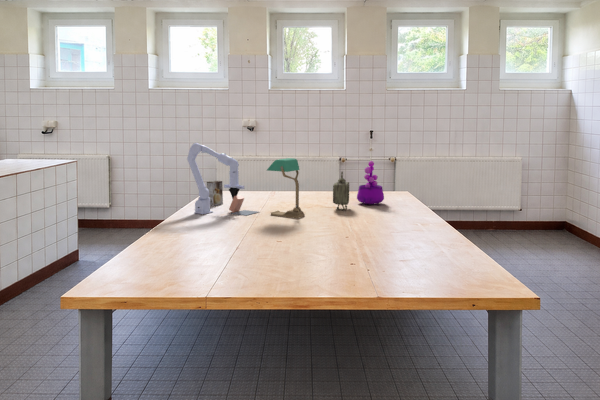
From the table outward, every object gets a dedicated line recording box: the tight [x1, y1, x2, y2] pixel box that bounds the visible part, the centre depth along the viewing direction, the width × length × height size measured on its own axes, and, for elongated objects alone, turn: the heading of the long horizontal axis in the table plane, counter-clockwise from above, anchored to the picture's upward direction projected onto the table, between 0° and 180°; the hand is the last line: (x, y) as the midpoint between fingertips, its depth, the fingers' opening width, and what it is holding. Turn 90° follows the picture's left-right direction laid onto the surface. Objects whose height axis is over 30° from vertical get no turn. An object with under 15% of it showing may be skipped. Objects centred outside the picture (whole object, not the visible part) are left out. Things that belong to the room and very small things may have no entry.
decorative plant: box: [356, 160, 385, 205], centre depth 393 cm, size 19×18×30 cm
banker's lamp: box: [266, 157, 306, 219], centre depth 347 cm, size 16×21×35 cm
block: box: [228, 194, 245, 213], centre depth 361 cm, size 6×4×10 cm, turn 150°
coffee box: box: [206, 180, 224, 207], centre depth 389 cm, size 9×6×16 cm
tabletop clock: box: [332, 170, 350, 211], centre depth 372 cm, size 14×9×25 cm, turn 168°
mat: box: [230, 209, 260, 217], centre depth 358 cm, size 14×12×1 cm
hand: (234, 199), depth 361 cm, fingers closed
